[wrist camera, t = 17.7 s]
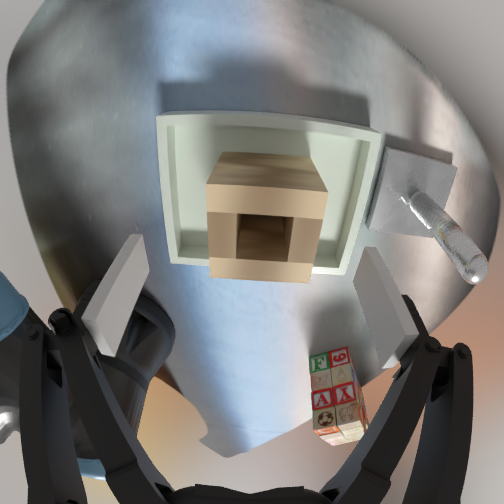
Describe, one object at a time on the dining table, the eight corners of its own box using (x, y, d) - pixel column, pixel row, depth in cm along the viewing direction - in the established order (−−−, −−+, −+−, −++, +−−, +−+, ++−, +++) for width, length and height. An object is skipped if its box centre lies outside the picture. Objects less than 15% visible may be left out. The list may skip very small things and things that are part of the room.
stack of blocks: (363, 393, 48) (371, 445, 38) (335, 400, 50) (340, 453, 40) (347, 345, 37) (360, 421, 27) (307, 356, 38) (312, 432, 29)
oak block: (222, 226, 25) (210, 277, 19) (222, 151, 21) (205, 183, 15) (299, 231, 25) (308, 283, 19) (310, 157, 21) (328, 192, 15)
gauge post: (365, 224, 25) (413, 323, 15) (385, 145, 20) (470, 215, 10) (428, 232, 25) (485, 317, 15) (452, 164, 20) (534, 232, 10)
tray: (177, 247, 27) (170, 263, 25) (167, 111, 19) (156, 116, 17) (339, 259, 27) (344, 274, 25) (370, 127, 19) (381, 133, 17)
